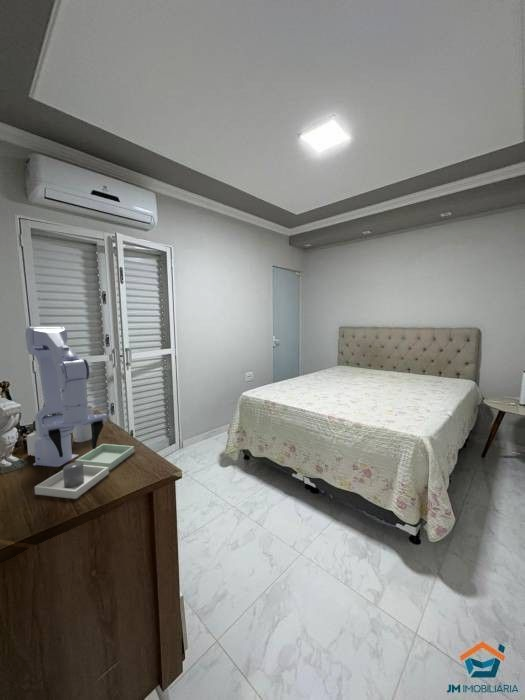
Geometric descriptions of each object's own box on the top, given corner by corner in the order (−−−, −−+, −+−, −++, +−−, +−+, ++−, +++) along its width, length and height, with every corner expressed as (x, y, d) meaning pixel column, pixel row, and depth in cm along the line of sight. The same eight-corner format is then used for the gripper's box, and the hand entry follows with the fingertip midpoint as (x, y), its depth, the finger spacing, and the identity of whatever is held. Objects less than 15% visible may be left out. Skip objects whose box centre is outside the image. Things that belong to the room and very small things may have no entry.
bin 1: (35, 496, 72) (34, 486, 72) (73, 471, 84) (72, 463, 84) (75, 501, 70) (75, 491, 70) (108, 475, 82) (108, 467, 82)
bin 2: (75, 468, 86) (75, 460, 86) (103, 450, 98) (103, 443, 98) (110, 471, 84) (110, 463, 84) (134, 453, 96) (134, 446, 96)
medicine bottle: (44, 457, 93) (42, 423, 91) (27, 455, 94) (24, 421, 93) (64, 448, 100) (61, 416, 98) (47, 446, 101) (45, 414, 100)
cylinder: (59, 487, 75) (58, 469, 75) (73, 477, 80) (72, 461, 79) (74, 488, 74) (73, 471, 74) (88, 479, 79) (87, 462, 78)
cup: (66, 440, 106) (64, 410, 105) (86, 433, 113) (84, 404, 112) (80, 444, 103) (78, 413, 102) (100, 436, 110) (98, 407, 109)
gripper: (41, 413, 68) (45, 465, 69) (108, 402, 77) (110, 449, 78) (41, 406, 73) (44, 455, 75) (103, 397, 83) (105, 441, 84)
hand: (78, 451), depth 77 cm, fingers open, 7 cm apart
